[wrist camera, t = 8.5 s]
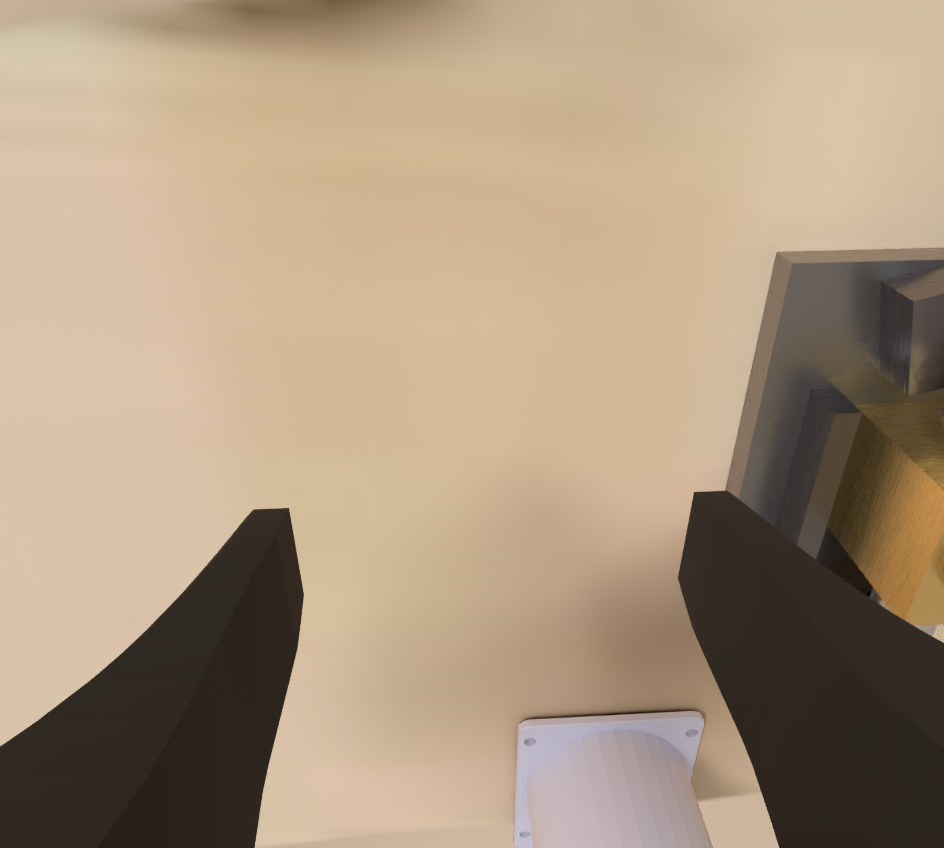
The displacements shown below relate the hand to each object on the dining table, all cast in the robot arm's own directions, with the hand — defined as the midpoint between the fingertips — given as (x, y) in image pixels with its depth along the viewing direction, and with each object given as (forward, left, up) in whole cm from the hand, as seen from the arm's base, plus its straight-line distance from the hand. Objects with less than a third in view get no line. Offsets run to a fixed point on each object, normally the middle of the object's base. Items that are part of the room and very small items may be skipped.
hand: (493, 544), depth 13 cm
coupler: (-5, -14, -9) cm, 17 cm away
